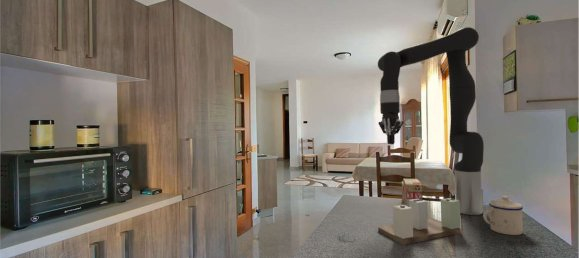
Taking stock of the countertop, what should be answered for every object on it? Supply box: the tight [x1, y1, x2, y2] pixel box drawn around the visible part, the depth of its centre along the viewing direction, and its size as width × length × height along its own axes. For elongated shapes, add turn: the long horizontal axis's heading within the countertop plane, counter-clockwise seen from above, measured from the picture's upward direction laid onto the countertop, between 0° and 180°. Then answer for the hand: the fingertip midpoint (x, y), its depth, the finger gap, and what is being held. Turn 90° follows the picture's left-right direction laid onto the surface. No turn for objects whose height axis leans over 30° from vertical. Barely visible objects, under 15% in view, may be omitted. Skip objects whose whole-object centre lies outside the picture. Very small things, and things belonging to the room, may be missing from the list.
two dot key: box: [440, 197, 461, 229], centre depth 95 cm, size 4×4×9 cm
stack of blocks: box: [400, 178, 423, 207], centre depth 127 cm, size 21×6×12 cm, turn 163°
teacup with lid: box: [482, 195, 524, 236], centre depth 95 cm, size 12×9×12 cm
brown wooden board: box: [377, 217, 462, 246], centre depth 96 cm, size 24×12×2 cm, turn 110°
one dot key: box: [392, 204, 413, 239], centre depth 89 cm, size 4×4×9 cm
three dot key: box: [409, 198, 429, 230], centre depth 96 cm, size 4×4×9 cm
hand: (390, 144), depth 115 cm, fingers closed
